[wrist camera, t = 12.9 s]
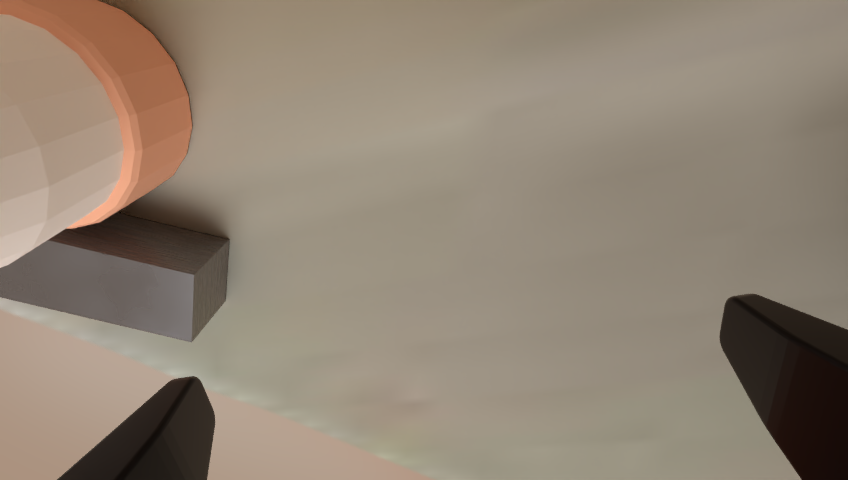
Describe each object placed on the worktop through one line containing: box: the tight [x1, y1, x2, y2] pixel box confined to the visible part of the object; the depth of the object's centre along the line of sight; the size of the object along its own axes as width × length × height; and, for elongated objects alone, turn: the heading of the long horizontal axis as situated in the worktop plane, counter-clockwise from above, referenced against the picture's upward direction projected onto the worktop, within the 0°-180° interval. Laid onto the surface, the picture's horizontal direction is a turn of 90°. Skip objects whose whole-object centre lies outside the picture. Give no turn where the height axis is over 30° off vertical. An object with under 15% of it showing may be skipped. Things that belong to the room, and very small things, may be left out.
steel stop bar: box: [0, 213, 229, 342], centre depth 21 cm, size 12×3×3 cm, turn 78°
